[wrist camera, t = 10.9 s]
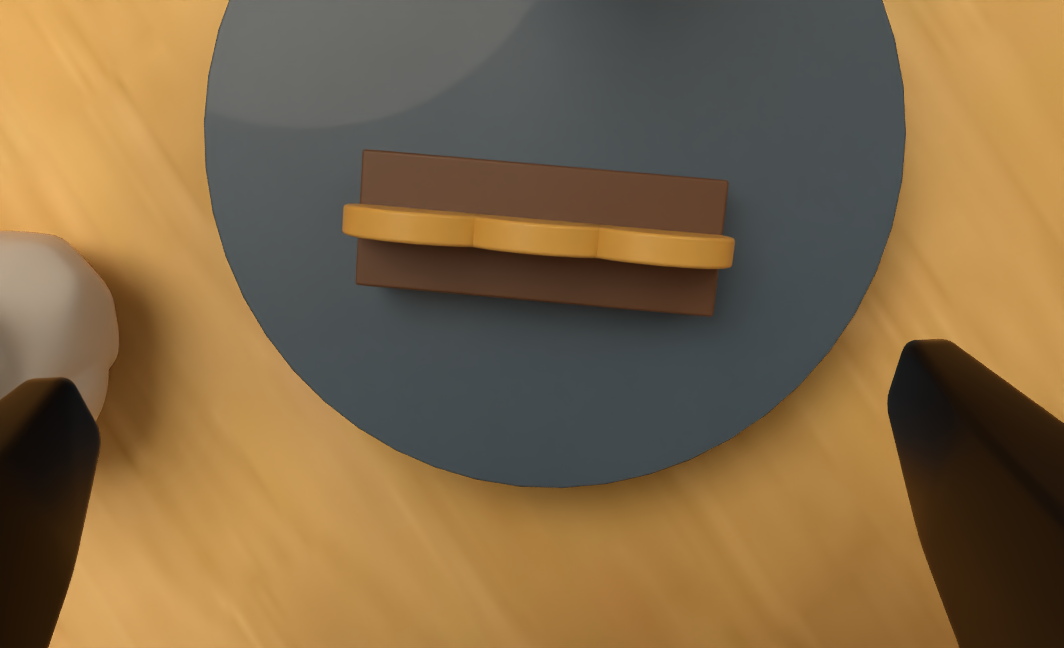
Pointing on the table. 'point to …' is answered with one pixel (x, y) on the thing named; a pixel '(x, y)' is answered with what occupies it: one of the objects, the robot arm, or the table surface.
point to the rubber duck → (54, 317)
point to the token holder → (554, 214)
